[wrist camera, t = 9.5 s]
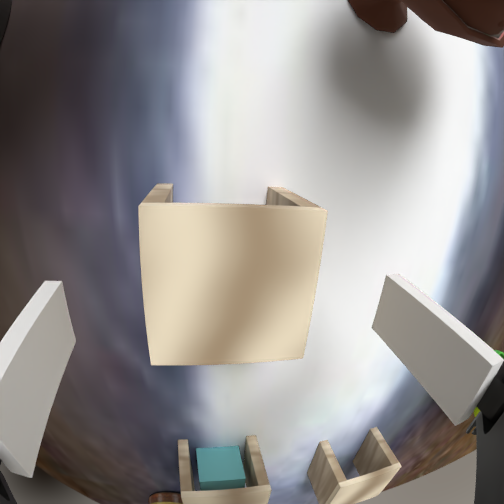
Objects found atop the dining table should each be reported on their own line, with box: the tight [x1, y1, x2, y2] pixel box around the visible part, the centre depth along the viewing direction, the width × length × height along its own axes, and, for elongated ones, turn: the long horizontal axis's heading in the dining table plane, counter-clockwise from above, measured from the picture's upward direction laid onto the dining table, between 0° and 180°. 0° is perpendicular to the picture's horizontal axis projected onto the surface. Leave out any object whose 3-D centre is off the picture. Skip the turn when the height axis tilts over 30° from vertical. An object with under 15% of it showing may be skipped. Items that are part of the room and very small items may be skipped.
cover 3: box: [307, 427, 401, 504], centre depth 30 cm, size 8×8×7 cm
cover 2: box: [178, 435, 271, 504], centre depth 25 cm, size 8×8×7 cm
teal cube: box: [196, 446, 246, 491], centre depth 26 cm, size 4×4×4 cm
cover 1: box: [139, 184, 328, 365], centre depth 17 cm, size 8×8×7 cm
